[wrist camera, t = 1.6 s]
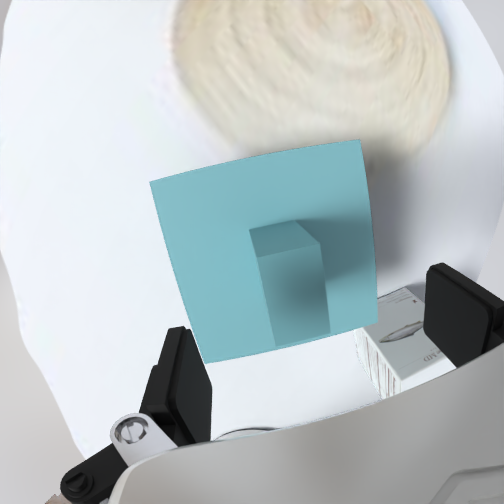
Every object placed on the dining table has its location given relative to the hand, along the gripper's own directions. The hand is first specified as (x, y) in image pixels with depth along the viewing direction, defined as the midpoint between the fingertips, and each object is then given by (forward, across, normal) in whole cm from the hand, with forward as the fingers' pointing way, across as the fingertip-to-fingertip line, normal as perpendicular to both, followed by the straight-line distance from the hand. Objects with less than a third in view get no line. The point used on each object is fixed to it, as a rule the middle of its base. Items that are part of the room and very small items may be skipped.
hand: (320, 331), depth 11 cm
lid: (+12, 0, +1) cm, 13 cm away
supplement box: (+18, -11, +14) cm, 25 cm away
